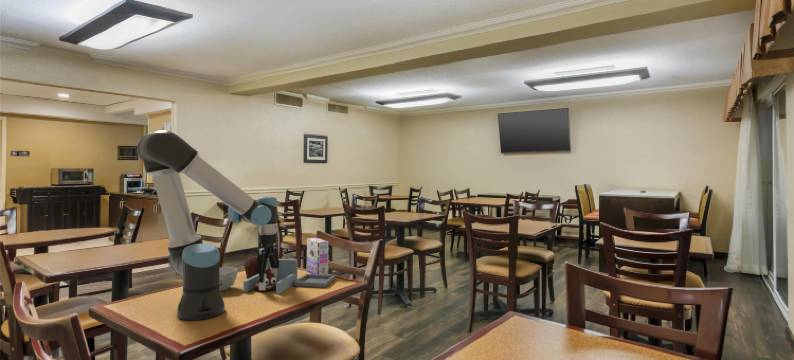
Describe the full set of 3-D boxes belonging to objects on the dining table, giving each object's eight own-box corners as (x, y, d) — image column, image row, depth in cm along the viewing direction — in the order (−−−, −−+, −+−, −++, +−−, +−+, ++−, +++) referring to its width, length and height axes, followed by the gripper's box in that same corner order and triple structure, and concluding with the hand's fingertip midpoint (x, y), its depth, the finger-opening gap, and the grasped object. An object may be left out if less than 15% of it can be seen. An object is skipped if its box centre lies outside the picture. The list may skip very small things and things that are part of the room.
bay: (278, 294, 171) (278, 269, 171) (243, 292, 174) (243, 267, 173) (297, 281, 190) (297, 259, 190) (265, 280, 192) (265, 258, 192)
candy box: (329, 275, 202) (329, 241, 202) (317, 277, 199) (317, 242, 198) (317, 269, 213) (317, 237, 213) (306, 271, 210) (306, 238, 210)
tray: (324, 288, 180) (324, 283, 180) (293, 286, 183) (293, 281, 183) (335, 279, 194) (335, 275, 194) (306, 278, 197) (306, 273, 196)
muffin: (274, 276, 199) (274, 255, 199) (255, 281, 190) (255, 259, 189) (257, 273, 205) (257, 252, 205) (238, 278, 196) (238, 256, 195)
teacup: (199, 289, 176) (199, 270, 176) (226, 283, 187) (226, 265, 186) (219, 296, 168) (219, 276, 168) (247, 289, 178) (247, 270, 178)
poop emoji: (275, 285, 185) (275, 263, 184) (282, 289, 178) (282, 267, 177) (252, 288, 179) (252, 266, 179) (258, 293, 172) (258, 270, 172)
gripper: (264, 237, 166) (264, 294, 167) (287, 229, 188) (287, 280, 188) (246, 237, 168) (246, 293, 168) (271, 229, 189) (271, 279, 190)
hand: (268, 286), depth 178 cm, fingers closed on poop emoji, 9 cm apart
